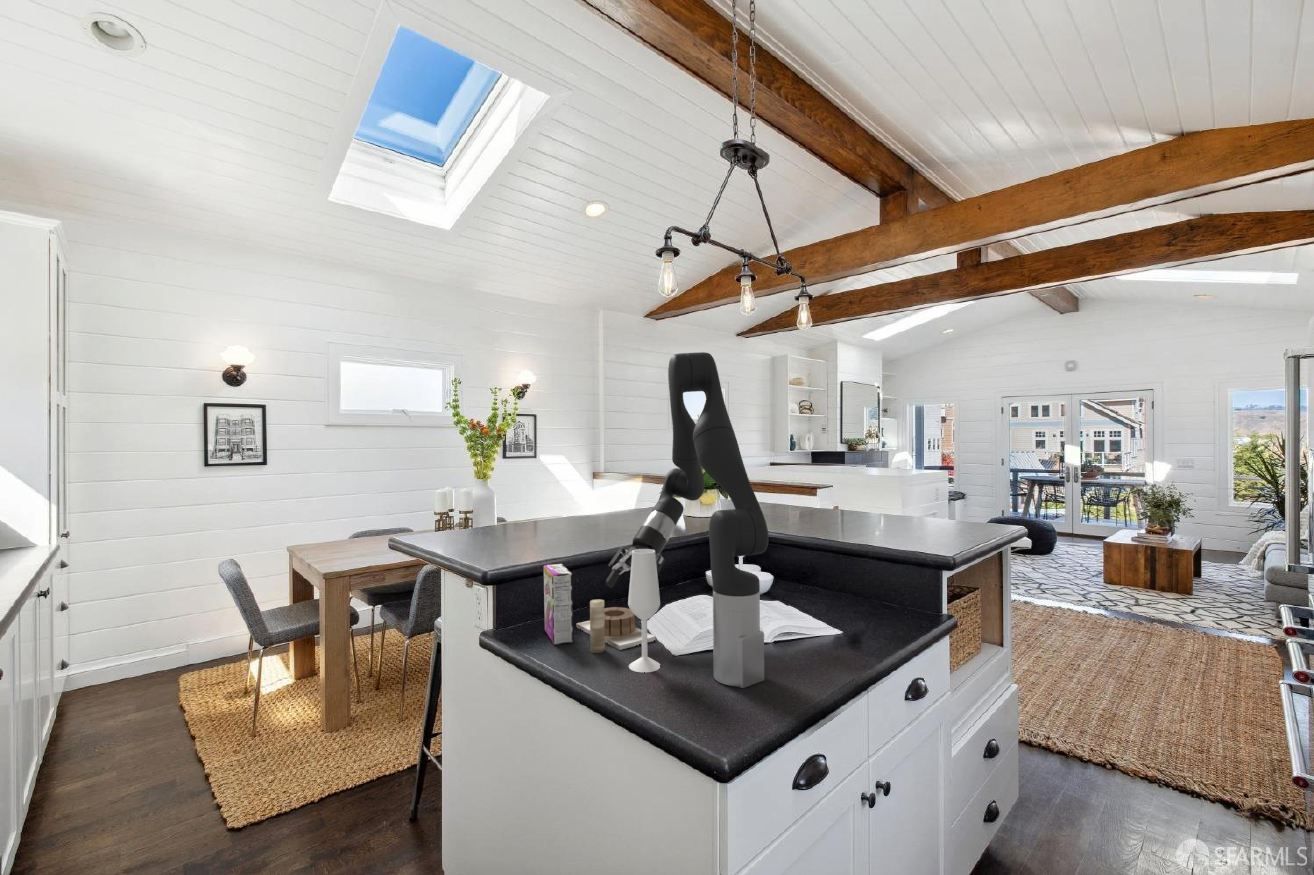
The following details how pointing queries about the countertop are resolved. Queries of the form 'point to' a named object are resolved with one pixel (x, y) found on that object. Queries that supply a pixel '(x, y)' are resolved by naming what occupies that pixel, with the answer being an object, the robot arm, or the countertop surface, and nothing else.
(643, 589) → the champagne flute
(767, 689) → the countertop surface
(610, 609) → the gear board
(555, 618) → the candy bar box
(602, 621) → the wooden dowel peg
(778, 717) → the countertop surface
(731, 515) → the robot arm
